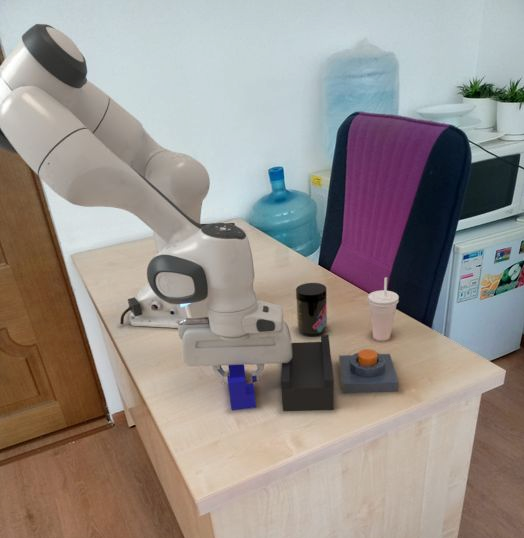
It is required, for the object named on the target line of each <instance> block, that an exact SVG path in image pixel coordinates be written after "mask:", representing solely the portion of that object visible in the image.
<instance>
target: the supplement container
mask: <svg viewBox="0 0 524 538" xmlns="http://www.w3.org/2000/svg"><path fill="white" fill-rule="evenodd" d="M327 288H328V287H327V286H326V285H325V284H323V283H319V282H305V283H302V284H300V285H298V286H296V288H295V298H296V314H297V318H296V319H297V331H298V332H299V334H301V335H302V336H304V337H311V338H313V337H319V336H321V335H324V334H325V333H326V332H327V329H328V310H327V308H328V307H327V301H328V299H327V298H328V297H327V296H328V294H327V293H328V292H327Z"/></svg>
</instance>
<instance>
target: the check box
mask: <svg viewBox="0 0 524 538" xmlns="http://www.w3.org/2000/svg"><path fill="white" fill-rule="evenodd" d="M358 353H359V352H355V353H354V354H349V355H348V354H347V355H338V361H339V362H338V367H339V374H340V383H341V388H342V389H341V391H342V394H361V393H362V394H364V393H365V394H366V393H395V392H396V393H397V392H398V391H399V379H398V377H397V374H396V369H395V367H394V363H393V360H392V357H391V354H390V353H382V354H381V353H379V352H377V354H378V355H377V364H376V365H373V366H363V365H360V364H359V363H358Z"/></svg>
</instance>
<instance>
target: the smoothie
mask: <svg viewBox="0 0 524 538" xmlns="http://www.w3.org/2000/svg"><path fill="white" fill-rule="evenodd" d="M399 299H400V296H399V295H398V293H397V292H394V291H391V290H388V277H386V276H385V277H384V281H383V289H381V290H374V291H372V292H370V293H369V294H368V295H367V303H368V305H369V313H370V323H371V330H372V332H371V333H372V338H373V339H374V340H377V341H388V340H389V339H391V334H392V329H393V324H394V320H395V315H396V310H397V304H398V303H399V302H400V301H399Z"/></svg>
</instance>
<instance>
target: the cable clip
mask: <svg viewBox="0 0 524 538" xmlns="http://www.w3.org/2000/svg"><path fill="white" fill-rule="evenodd" d="M227 367H228V371H229V378H228V383H227V386H228V393H229V402H230V408H231V409H230V410H231V411H238V410H248V409H256V408H257V401H256V393H255V382H246V370H245V365H227Z"/></svg>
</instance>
